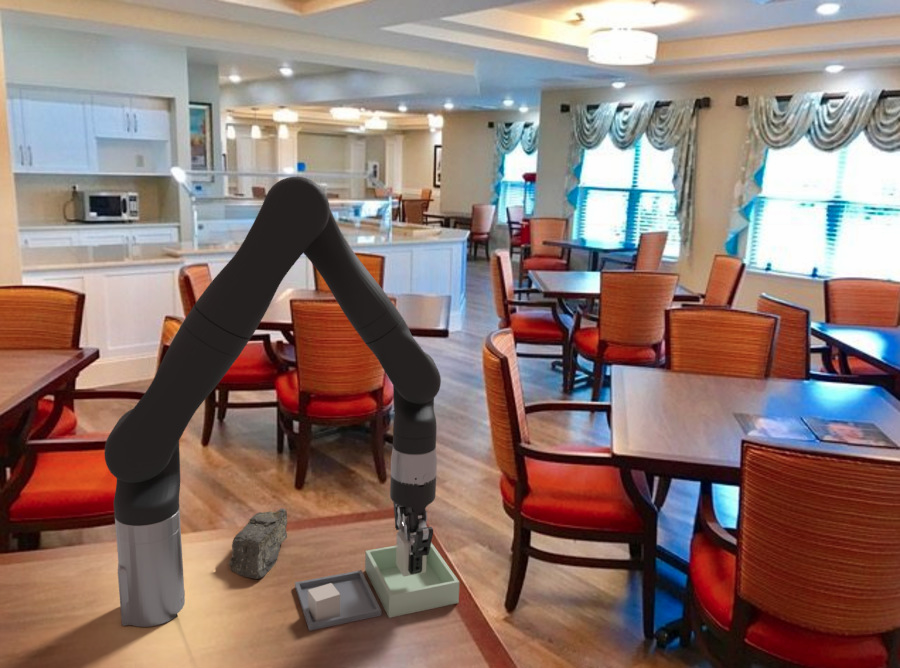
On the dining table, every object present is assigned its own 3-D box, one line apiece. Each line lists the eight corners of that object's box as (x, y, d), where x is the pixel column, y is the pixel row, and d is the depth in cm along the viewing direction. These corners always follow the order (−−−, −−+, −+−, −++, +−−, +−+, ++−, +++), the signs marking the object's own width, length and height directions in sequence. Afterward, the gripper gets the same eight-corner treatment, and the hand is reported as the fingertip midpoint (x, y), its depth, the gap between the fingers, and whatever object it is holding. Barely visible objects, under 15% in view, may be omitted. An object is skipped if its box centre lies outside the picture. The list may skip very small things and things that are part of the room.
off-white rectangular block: (403, 576, 118) (404, 544, 116) (395, 564, 121) (396, 532, 120) (425, 572, 119) (427, 540, 118) (417, 560, 123) (418, 528, 121)
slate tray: (309, 633, 109) (309, 625, 108) (295, 590, 120) (295, 582, 119) (381, 618, 113) (381, 610, 113) (361, 577, 124) (361, 570, 124)
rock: (236, 513, 135) (287, 499, 136) (246, 544, 137) (296, 530, 137) (217, 559, 119) (275, 543, 119) (229, 594, 120) (286, 578, 121)
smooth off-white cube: (316, 624, 110) (316, 601, 109) (308, 612, 113) (307, 589, 112) (340, 616, 112) (340, 594, 111) (331, 604, 115) (331, 582, 114)
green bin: (388, 620, 113) (389, 596, 112) (365, 573, 125) (365, 550, 124) (458, 605, 117) (459, 581, 116) (428, 561, 130) (429, 539, 129)
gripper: (379, 457, 121) (377, 547, 125) (405, 494, 108) (402, 593, 112) (420, 452, 124) (417, 540, 128) (451, 487, 111) (446, 584, 115)
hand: (410, 564), depth 120 cm, fingers closed on off-white rectangular block, 4 cm apart
